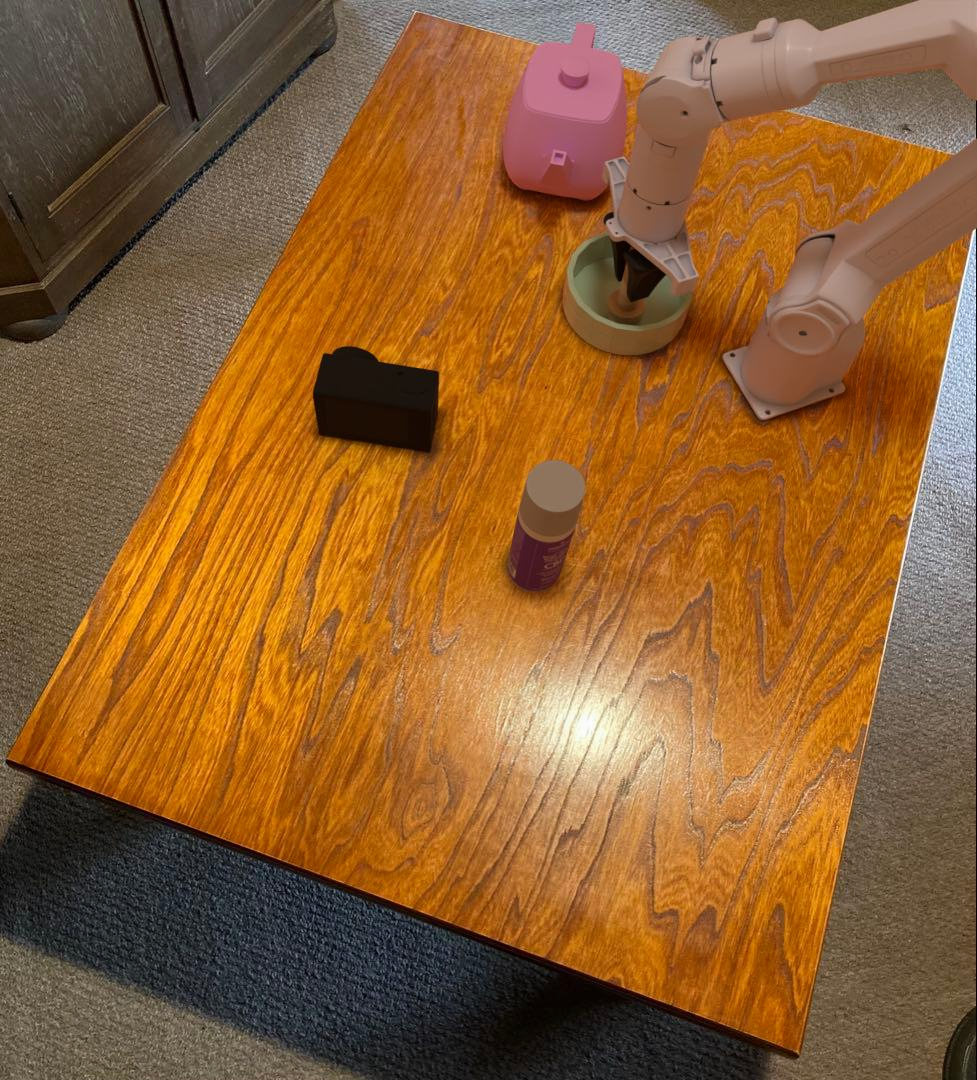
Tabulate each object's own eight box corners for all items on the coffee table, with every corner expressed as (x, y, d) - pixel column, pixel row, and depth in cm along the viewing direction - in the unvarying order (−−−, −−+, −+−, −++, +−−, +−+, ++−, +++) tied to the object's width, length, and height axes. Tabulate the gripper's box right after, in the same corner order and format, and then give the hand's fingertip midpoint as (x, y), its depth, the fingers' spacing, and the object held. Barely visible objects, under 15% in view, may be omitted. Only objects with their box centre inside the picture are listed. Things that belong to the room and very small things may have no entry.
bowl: (650, 243, 110) (658, 215, 107) (706, 335, 105) (717, 309, 102) (542, 275, 108) (546, 248, 104) (595, 371, 103) (601, 346, 99)
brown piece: (632, 294, 106) (649, 230, 98) (648, 321, 105) (667, 259, 96) (599, 304, 105) (614, 240, 97) (615, 332, 104) (632, 270, 96)
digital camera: (441, 403, 100) (443, 359, 94) (431, 453, 98) (432, 410, 92) (331, 386, 100) (325, 340, 94) (318, 435, 98) (312, 391, 92)
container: (542, 603, 92) (567, 524, 78) (496, 575, 93) (512, 492, 79) (570, 562, 94) (598, 478, 80) (524, 534, 95) (545, 447, 81)
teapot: (518, 91, 119) (528, -13, 107) (629, 111, 118) (651, 9, 107) (484, 226, 110) (492, 129, 99) (604, 248, 110) (626, 153, 98)
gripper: (580, 130, 91) (561, 241, 103) (657, 256, 86) (628, 357, 98) (654, 110, 93) (627, 222, 105) (734, 233, 87) (696, 335, 99)
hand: (632, 286), depth 101 cm, fingers closed on brown piece, 2 cm apart
